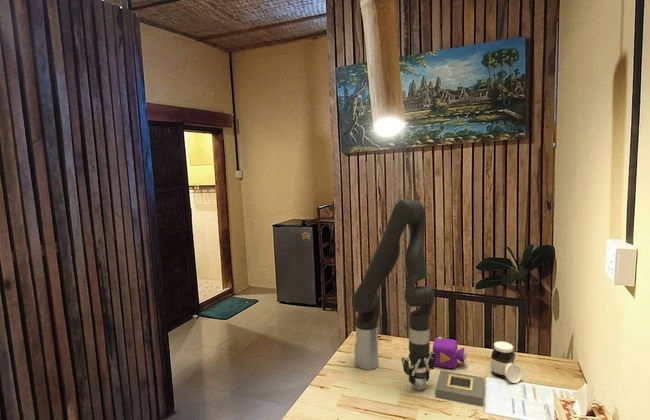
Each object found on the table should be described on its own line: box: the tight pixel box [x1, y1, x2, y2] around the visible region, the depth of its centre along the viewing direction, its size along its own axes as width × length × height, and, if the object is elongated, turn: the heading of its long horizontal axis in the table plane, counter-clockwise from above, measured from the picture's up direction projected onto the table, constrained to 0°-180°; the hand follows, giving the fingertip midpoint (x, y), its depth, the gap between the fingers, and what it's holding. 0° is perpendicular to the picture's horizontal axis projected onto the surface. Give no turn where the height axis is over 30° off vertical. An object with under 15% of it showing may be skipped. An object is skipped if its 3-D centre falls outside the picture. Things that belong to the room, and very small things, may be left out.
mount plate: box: [434, 370, 485, 407], centre depth 146 cm, size 16×14×4 cm
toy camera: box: [432, 336, 468, 370], centre depth 166 cm, size 11×14×10 cm
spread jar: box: [490, 341, 523, 384], centre depth 155 cm, size 12×11×12 cm
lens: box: [411, 365, 427, 391], centre depth 149 cm, size 5×5×8 cm
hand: (419, 381), depth 149 cm, fingers closed on lens, 5 cm apart
